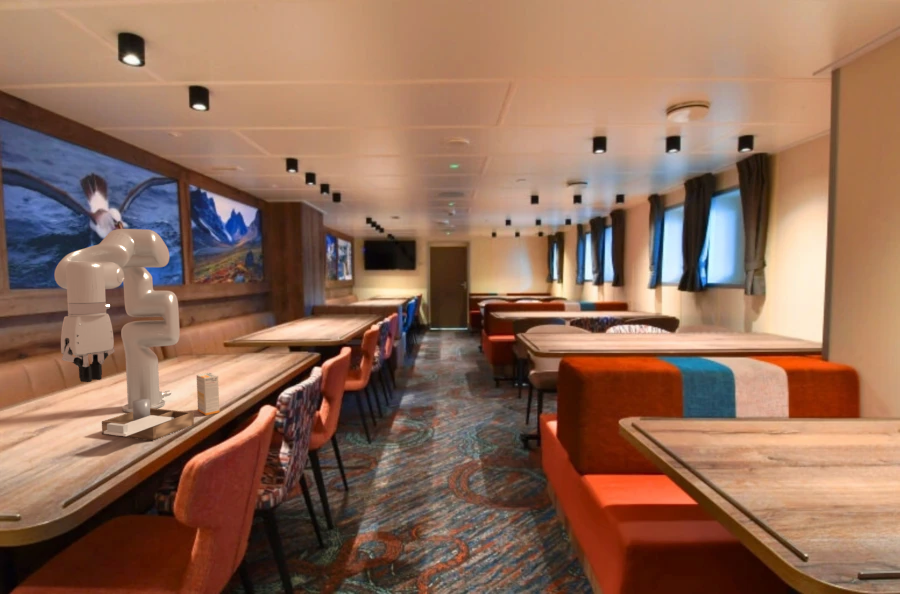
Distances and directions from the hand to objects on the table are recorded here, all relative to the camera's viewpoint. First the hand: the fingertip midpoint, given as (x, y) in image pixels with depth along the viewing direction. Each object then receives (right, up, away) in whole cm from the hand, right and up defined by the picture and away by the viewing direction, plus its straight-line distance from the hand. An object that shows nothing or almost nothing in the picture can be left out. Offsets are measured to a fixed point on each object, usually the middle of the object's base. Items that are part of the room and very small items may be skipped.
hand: (91, 380), depth 112 cm
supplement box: (+8, -19, +40) cm, 45 cm away
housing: (-1, -20, +23) cm, 31 cm away
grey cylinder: (-4, -19, +24) cm, 31 cm away
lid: (+3, -16, +14) cm, 21 cm away
